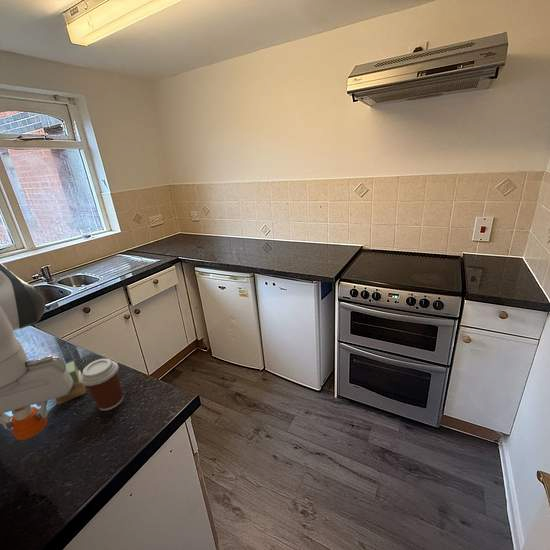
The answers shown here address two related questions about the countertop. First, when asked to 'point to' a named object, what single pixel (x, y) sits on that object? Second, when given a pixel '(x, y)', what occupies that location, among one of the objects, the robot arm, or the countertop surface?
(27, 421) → the cone
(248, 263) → the countertop surface
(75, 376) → the top block
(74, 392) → the base block
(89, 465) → the countertop surface
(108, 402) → the coffee cup
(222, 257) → the countertop surface
